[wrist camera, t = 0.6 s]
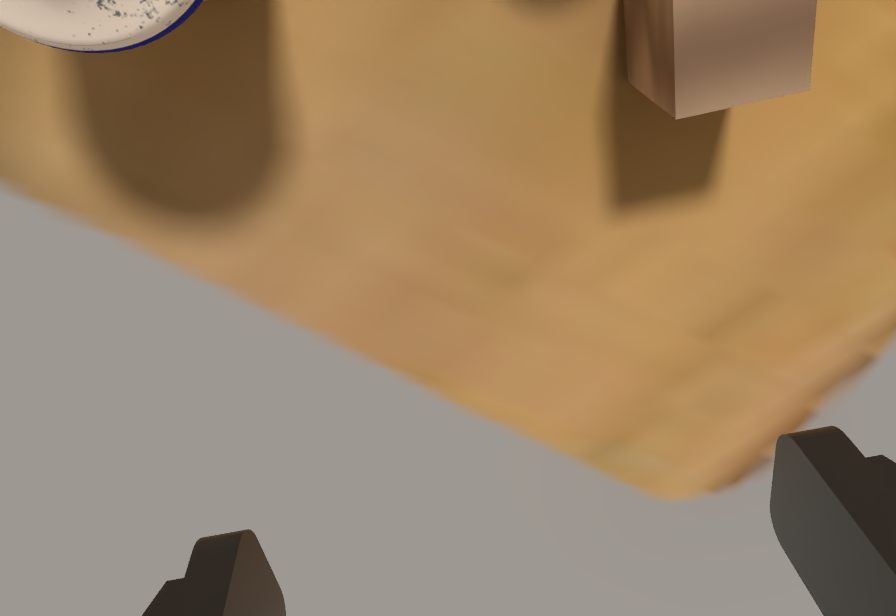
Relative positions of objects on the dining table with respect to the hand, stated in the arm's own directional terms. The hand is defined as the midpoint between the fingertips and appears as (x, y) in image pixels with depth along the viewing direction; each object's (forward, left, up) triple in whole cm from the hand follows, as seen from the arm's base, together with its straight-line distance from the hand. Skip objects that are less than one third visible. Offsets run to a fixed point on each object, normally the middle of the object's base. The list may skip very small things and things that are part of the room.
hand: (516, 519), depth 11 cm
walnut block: (-2, +11, -24) cm, 26 cm away
